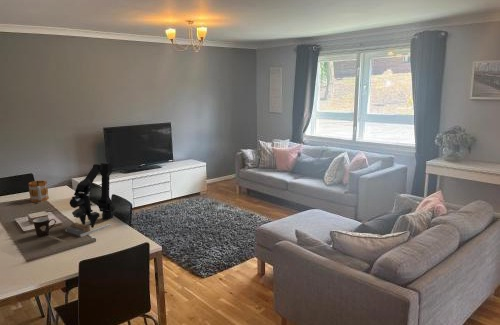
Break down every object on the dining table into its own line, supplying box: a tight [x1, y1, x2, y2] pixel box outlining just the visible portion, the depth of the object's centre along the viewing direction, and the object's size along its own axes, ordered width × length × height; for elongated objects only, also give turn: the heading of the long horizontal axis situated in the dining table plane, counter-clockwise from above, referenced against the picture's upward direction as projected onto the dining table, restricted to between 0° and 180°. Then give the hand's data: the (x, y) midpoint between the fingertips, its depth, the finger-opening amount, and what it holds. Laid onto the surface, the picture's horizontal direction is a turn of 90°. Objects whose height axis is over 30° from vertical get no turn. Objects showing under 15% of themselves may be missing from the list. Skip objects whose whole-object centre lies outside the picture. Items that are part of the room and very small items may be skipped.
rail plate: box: [65, 220, 112, 238], centre depth 236 cm, size 21×18×4 cm
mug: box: [27, 179, 50, 203], centre depth 303 cm, size 20×14×15 cm
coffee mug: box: [32, 216, 57, 238], centre depth 230 cm, size 12×9×10 cm
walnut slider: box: [70, 222, 91, 233], centre depth 231 cm, size 4×14×4 cm, turn 57°
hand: (88, 226), depth 236 cm, fingers open, 9 cm apart
